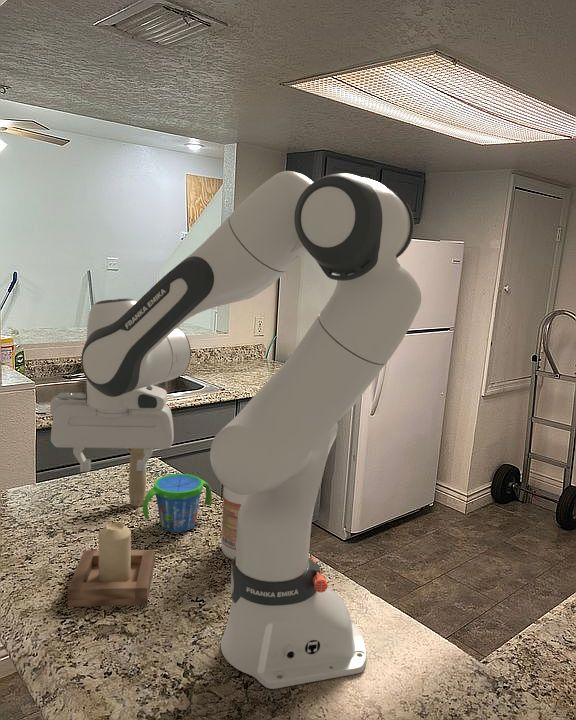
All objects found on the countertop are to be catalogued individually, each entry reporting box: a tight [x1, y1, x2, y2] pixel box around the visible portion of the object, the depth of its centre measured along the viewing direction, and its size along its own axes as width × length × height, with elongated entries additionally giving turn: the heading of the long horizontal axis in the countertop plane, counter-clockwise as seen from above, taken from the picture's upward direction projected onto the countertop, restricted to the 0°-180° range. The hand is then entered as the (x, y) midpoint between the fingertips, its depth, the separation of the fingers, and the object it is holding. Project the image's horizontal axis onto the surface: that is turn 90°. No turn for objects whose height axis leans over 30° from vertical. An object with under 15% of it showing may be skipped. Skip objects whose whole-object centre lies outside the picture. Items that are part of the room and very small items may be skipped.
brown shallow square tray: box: [67, 549, 155, 608], centre depth 107 cm, size 13×13×3 cm
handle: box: [124, 448, 147, 508], centre depth 139 cm, size 5×6×15 cm
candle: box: [98, 521, 132, 582], centre depth 106 cm, size 6×6×10 cm
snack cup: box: [142, 473, 213, 534], centre depth 130 cm, size 16×10×10 cm
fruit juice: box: [220, 486, 247, 560], centre depth 119 cm, size 9×9×28 cm
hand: (113, 471), depth 103 cm, fingers open, 8 cm apart
